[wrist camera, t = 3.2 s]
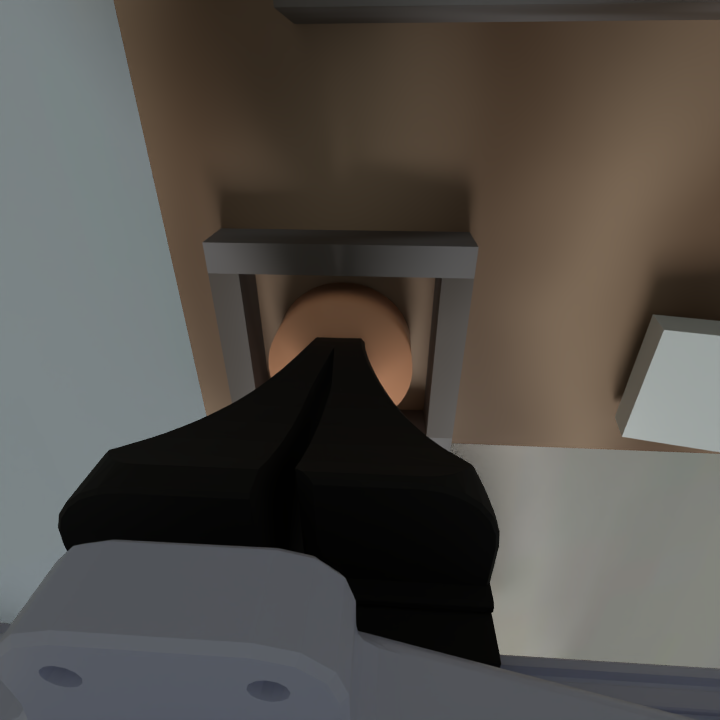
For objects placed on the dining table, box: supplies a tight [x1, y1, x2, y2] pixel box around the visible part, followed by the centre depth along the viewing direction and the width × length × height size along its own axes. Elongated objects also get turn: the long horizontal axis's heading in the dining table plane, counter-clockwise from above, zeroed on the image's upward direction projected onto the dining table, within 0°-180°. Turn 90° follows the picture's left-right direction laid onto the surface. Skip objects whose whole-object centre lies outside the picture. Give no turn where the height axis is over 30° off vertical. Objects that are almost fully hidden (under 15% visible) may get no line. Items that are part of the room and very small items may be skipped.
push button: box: [269, 282, 412, 406], centre depth 13 cm, size 4×4×2 cm
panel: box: [114, 0, 720, 454], centre depth 10 cm, size 19×20×4 cm
